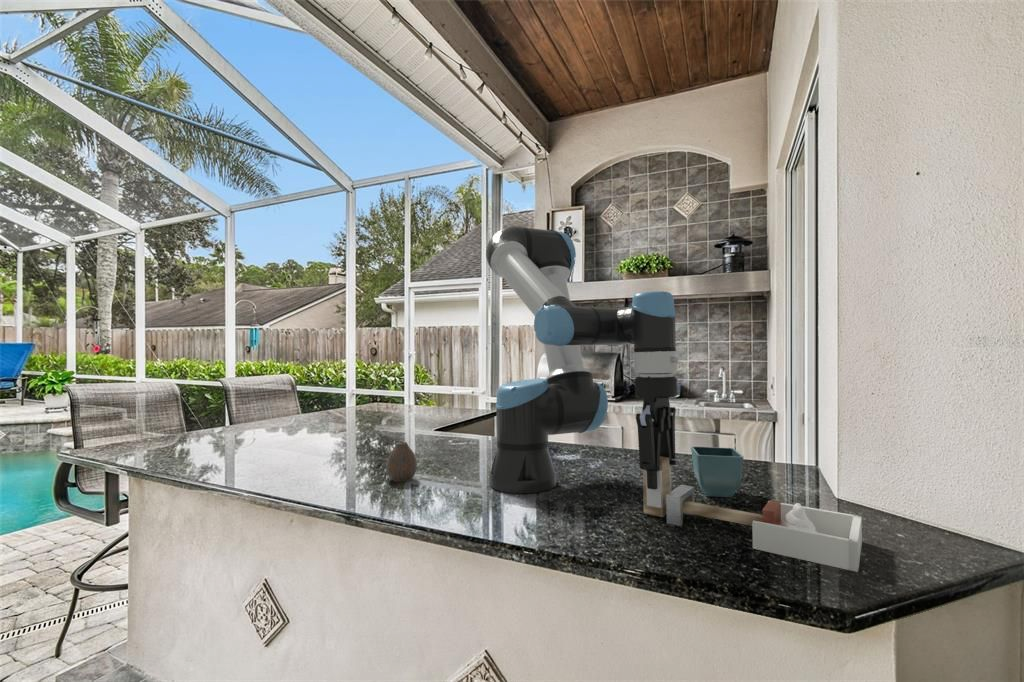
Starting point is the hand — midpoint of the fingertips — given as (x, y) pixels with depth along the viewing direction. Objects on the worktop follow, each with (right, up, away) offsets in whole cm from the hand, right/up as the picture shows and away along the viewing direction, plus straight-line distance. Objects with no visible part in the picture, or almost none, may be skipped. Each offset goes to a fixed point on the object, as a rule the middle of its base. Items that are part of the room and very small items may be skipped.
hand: (659, 502), depth 89 cm
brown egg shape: (-53, -3, +25) cm, 59 cm away
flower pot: (+16, -2, +12) cm, 20 cm away
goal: (+18, -2, -14) cm, 24 cm away
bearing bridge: (+3, -2, -2) cm, 4 cm away
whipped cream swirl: (+17, -2, -14) cm, 22 cm away
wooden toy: (+7, -2, -5) cm, 9 cm away
